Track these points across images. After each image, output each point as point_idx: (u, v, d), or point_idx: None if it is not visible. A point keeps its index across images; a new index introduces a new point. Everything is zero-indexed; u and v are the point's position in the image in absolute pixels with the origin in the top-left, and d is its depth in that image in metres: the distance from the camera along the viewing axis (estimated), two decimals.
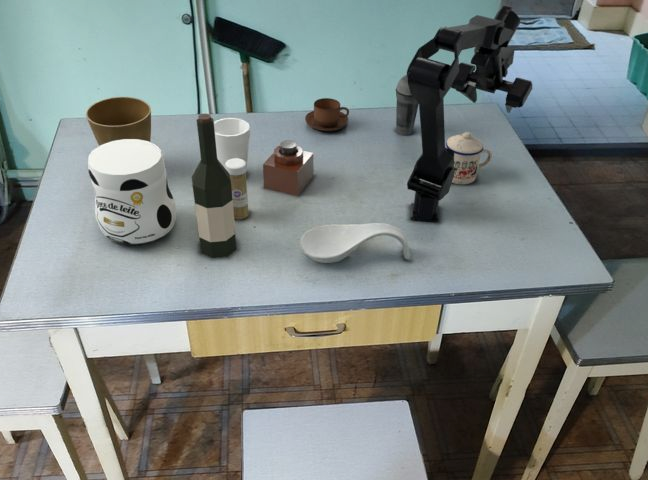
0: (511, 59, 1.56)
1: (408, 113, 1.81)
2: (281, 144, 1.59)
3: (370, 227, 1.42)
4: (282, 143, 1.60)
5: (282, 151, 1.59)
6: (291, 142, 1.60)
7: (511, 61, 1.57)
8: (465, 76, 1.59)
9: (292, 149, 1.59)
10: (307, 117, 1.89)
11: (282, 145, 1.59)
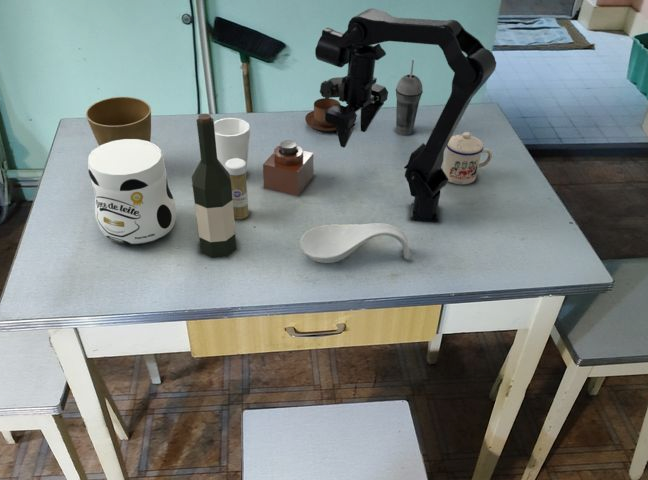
0: None
1: (408, 113, 1.81)
2: (281, 144, 1.59)
3: (370, 227, 1.42)
4: (282, 143, 1.60)
5: (282, 151, 1.59)
6: (291, 142, 1.60)
7: None
8: (347, 108, 1.45)
9: (292, 149, 1.59)
10: (307, 117, 1.89)
11: (282, 145, 1.59)
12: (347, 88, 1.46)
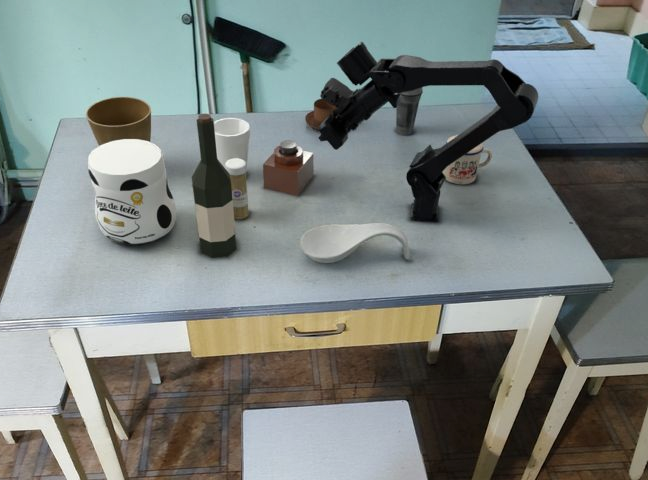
0: None
1: (408, 113, 1.81)
2: (281, 144, 1.59)
3: (370, 227, 1.42)
4: (282, 143, 1.60)
5: (282, 151, 1.59)
6: (291, 142, 1.60)
7: None
8: (343, 129, 1.45)
9: (292, 149, 1.59)
10: (307, 117, 1.89)
11: (282, 145, 1.59)
12: (350, 107, 1.45)
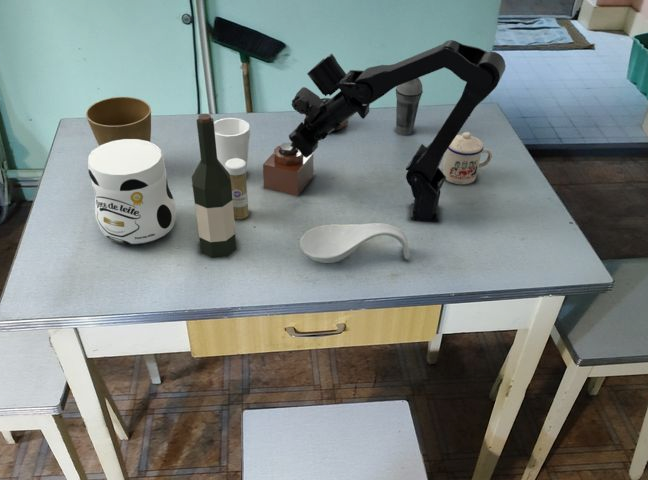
0: None
1: (408, 113, 1.81)
2: (281, 146, 1.60)
3: (370, 227, 1.42)
4: (282, 145, 1.60)
5: (282, 153, 1.60)
6: None
7: None
8: (313, 138, 1.49)
9: (292, 151, 1.59)
10: None
11: (282, 147, 1.59)
12: (320, 116, 1.49)
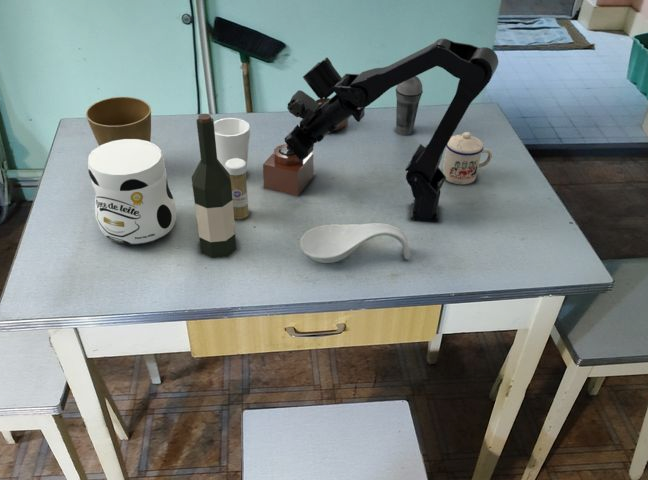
0: None
1: (408, 113, 1.81)
2: (281, 150, 1.60)
3: (370, 227, 1.42)
4: (282, 148, 1.61)
5: None
6: None
7: None
8: (309, 141, 1.50)
9: None
10: None
11: (282, 151, 1.60)
12: (315, 120, 1.50)
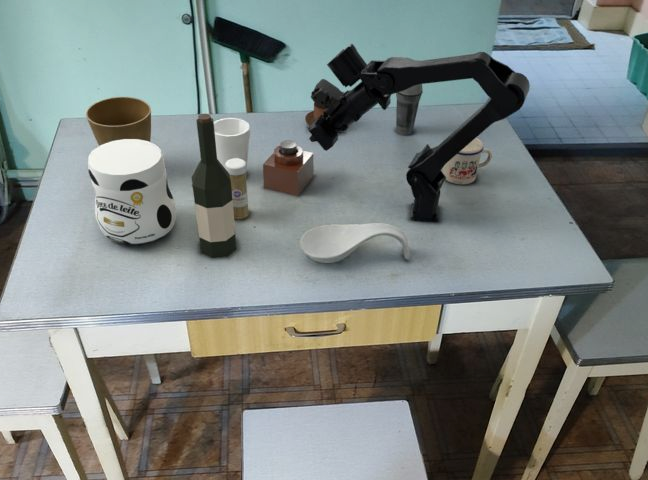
0: None
1: (408, 113, 1.81)
2: (281, 144, 1.59)
3: (370, 227, 1.42)
4: (282, 143, 1.60)
5: (282, 151, 1.59)
6: (291, 142, 1.60)
7: None
8: (333, 130, 1.46)
9: (292, 149, 1.59)
10: (307, 117, 1.89)
11: (282, 145, 1.59)
12: (340, 108, 1.46)
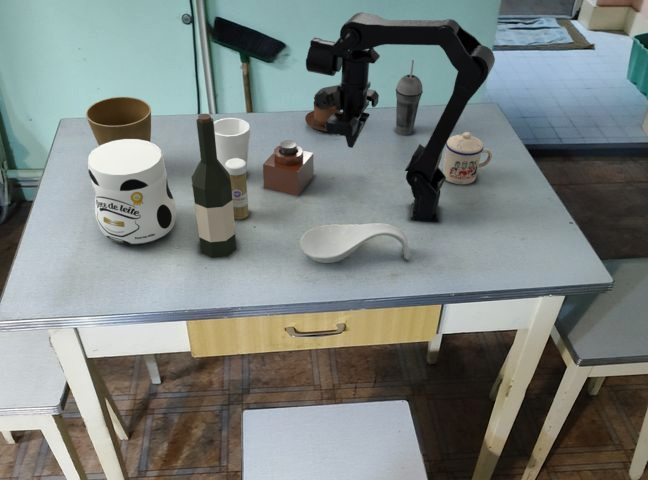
0: None
1: (408, 113, 1.81)
2: (281, 144, 1.59)
3: (370, 227, 1.42)
4: (282, 143, 1.60)
5: (282, 151, 1.59)
6: (291, 142, 1.60)
7: None
8: (348, 116, 1.42)
9: (292, 149, 1.59)
10: (307, 117, 1.89)
11: (282, 145, 1.59)
12: (343, 96, 1.43)
